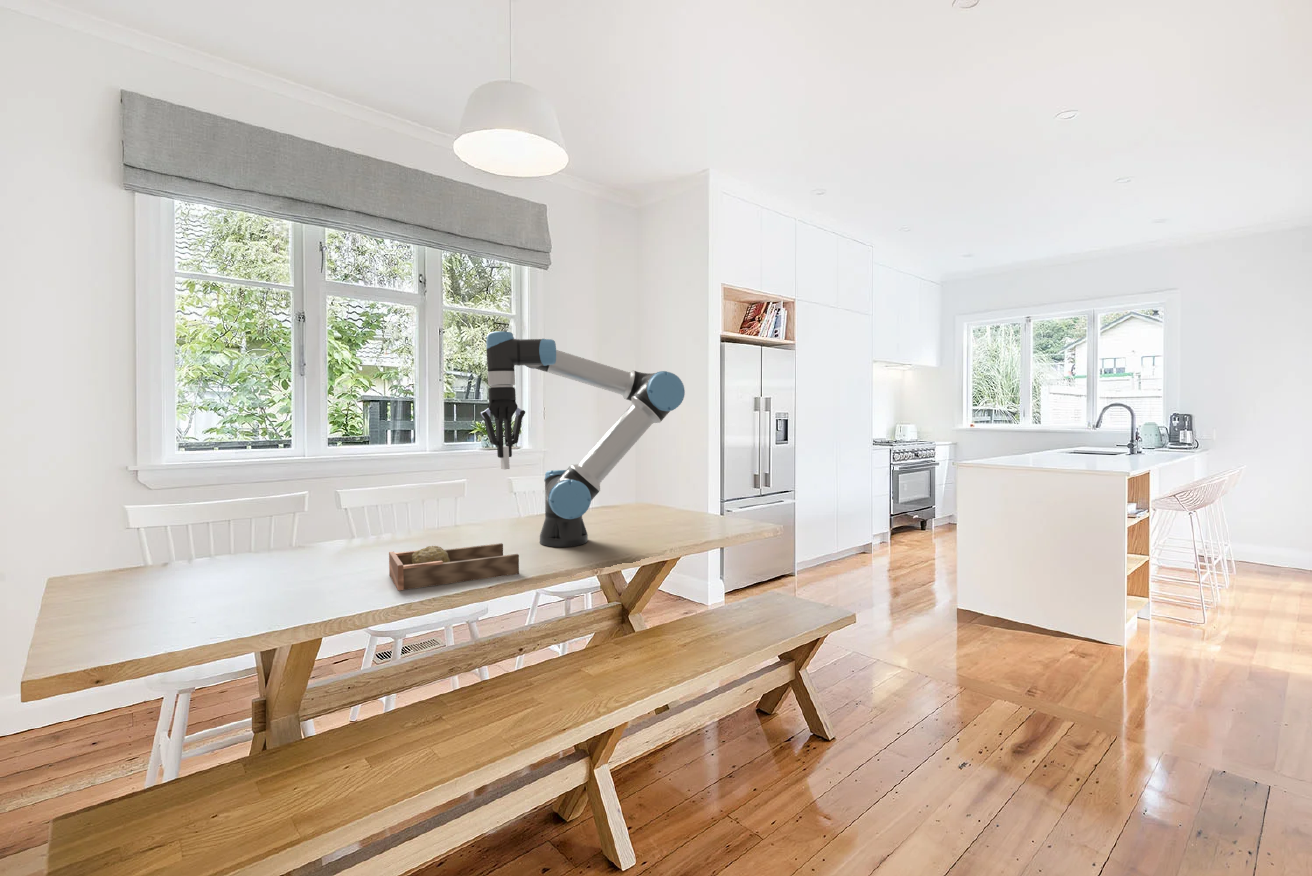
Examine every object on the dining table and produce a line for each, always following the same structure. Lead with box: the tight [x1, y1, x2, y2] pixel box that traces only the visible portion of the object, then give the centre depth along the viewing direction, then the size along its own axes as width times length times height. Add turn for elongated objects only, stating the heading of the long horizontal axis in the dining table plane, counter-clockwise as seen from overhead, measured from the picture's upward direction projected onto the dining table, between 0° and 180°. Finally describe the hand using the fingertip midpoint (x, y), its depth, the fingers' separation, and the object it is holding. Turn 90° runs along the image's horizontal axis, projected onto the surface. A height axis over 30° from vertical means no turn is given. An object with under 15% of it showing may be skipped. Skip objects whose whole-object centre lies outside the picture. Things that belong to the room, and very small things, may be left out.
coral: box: [411, 545, 450, 564], centre depth 157 cm, size 9×9×8 cm
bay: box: [388, 542, 520, 592], centre depth 160 cm, size 29×15×6 cm, turn 121°
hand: (505, 468), depth 179 cm, fingers closed
